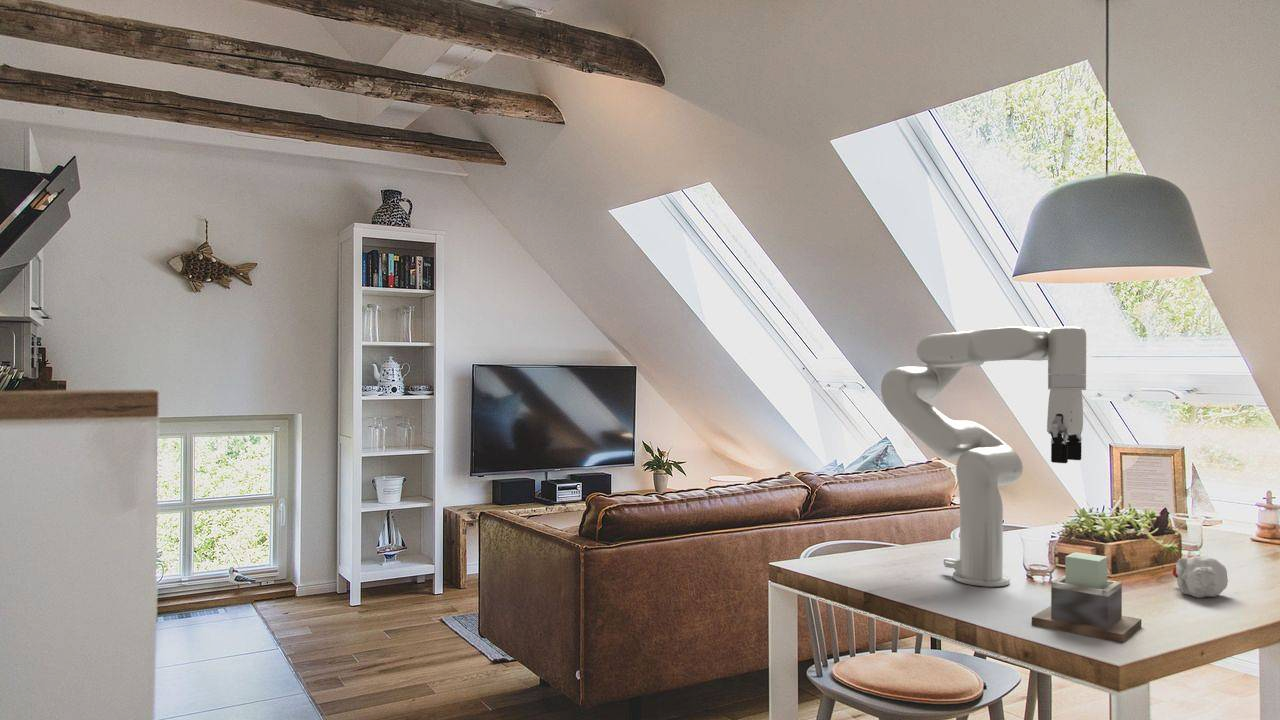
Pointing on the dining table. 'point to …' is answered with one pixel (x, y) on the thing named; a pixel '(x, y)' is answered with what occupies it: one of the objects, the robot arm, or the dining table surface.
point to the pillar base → (1089, 630)
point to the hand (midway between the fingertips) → (1066, 461)
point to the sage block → (1086, 570)
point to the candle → (1200, 576)
